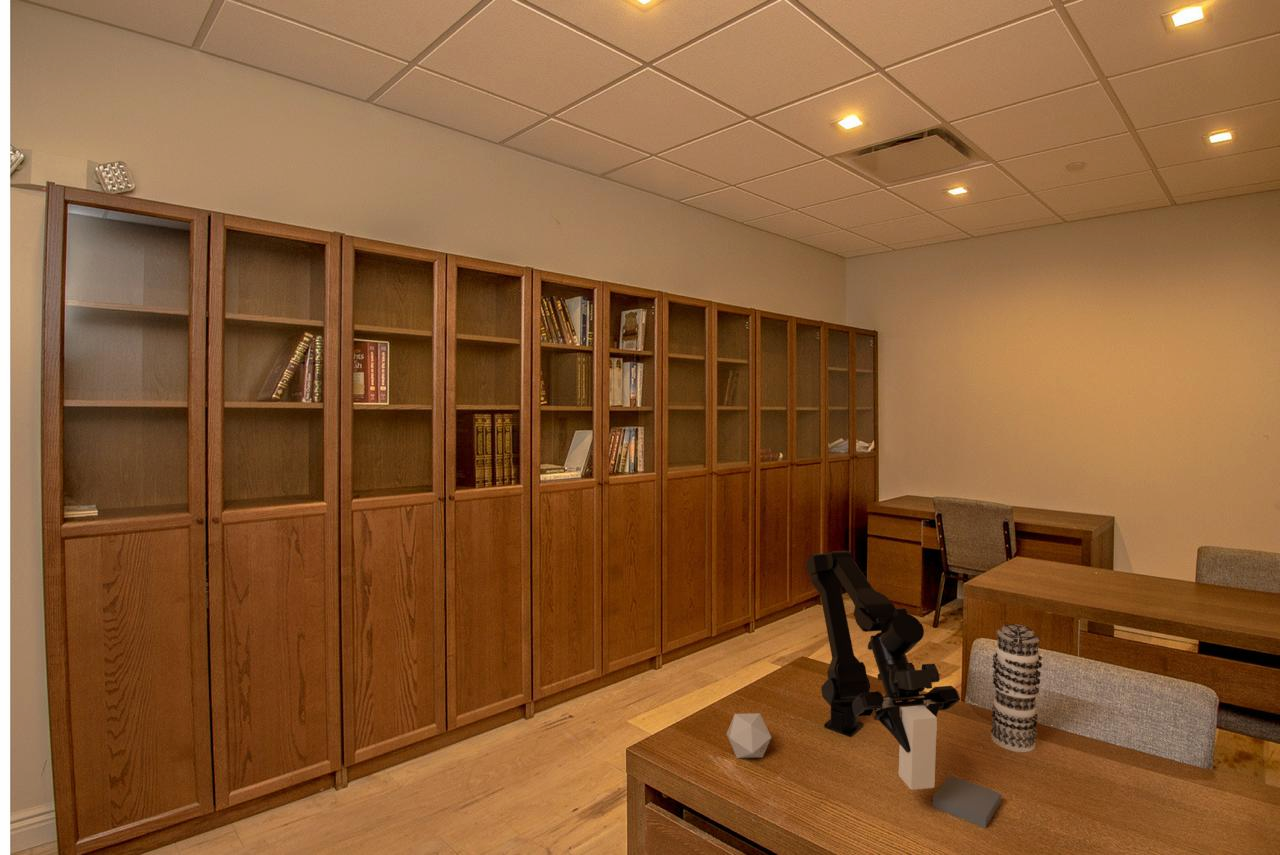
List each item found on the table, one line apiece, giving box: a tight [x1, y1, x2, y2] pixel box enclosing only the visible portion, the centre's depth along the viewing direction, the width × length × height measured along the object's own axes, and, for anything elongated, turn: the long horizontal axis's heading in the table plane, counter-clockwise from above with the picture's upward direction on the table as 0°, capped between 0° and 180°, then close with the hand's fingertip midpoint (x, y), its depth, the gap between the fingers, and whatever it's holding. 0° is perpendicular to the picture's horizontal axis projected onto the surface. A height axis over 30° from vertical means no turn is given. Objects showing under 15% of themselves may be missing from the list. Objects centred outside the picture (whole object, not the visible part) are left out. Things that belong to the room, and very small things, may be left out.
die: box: [726, 712, 772, 759], centre depth 147 cm, size 8×9×10 cm
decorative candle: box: [990, 623, 1043, 753], centre depth 149 cm, size 9×9×25 cm
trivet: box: [932, 774, 1002, 829], centre depth 129 cm, size 9×9×2 cm
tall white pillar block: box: [898, 705, 938, 791], centre depth 126 cm, size 4×4×13 cm
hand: (921, 750), depth 125 cm, fingers closed on tall white pillar block, 4 cm apart
